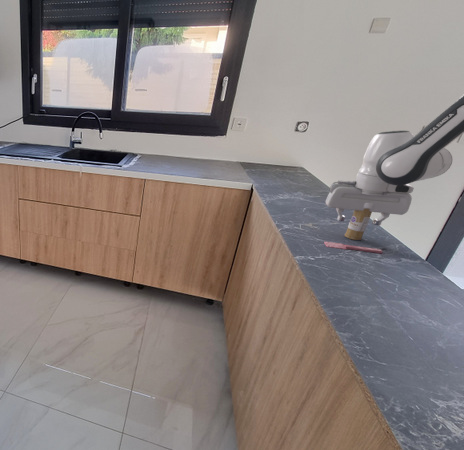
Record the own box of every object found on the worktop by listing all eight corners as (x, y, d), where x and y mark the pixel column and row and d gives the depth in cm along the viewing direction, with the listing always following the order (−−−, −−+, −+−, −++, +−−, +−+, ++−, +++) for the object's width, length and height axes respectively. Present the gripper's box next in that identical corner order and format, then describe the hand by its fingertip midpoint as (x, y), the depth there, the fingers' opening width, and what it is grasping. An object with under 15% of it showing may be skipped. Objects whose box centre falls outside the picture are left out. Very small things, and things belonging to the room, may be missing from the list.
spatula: (377, 249, 98) (378, 247, 98) (383, 255, 95) (384, 253, 95) (323, 242, 104) (324, 240, 104) (327, 247, 101) (327, 245, 100)
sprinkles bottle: (340, 235, 108) (354, 199, 103) (351, 234, 109) (365, 198, 104) (353, 241, 104) (368, 203, 99) (365, 240, 105) (380, 202, 100)
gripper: (335, 182, 100) (322, 221, 106) (421, 188, 92) (402, 230, 98) (330, 177, 105) (317, 215, 111) (410, 183, 98) (392, 223, 103)
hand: (357, 222), depth 104 cm, fingers open, 8 cm apart
